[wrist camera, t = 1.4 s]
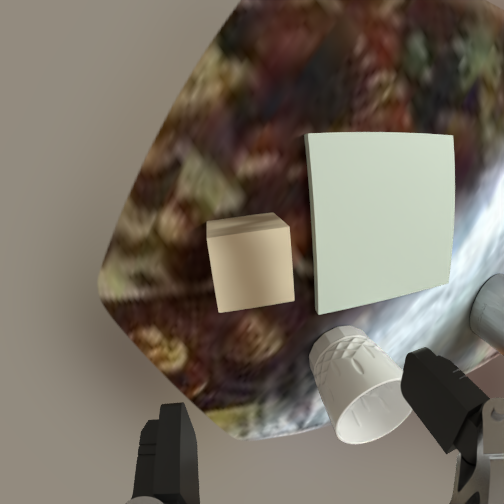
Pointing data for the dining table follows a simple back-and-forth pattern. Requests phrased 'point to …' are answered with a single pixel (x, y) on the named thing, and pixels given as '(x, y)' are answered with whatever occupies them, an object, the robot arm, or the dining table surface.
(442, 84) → the dining table surface
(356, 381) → the white cup
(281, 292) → the beech cube
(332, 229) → the sage board
